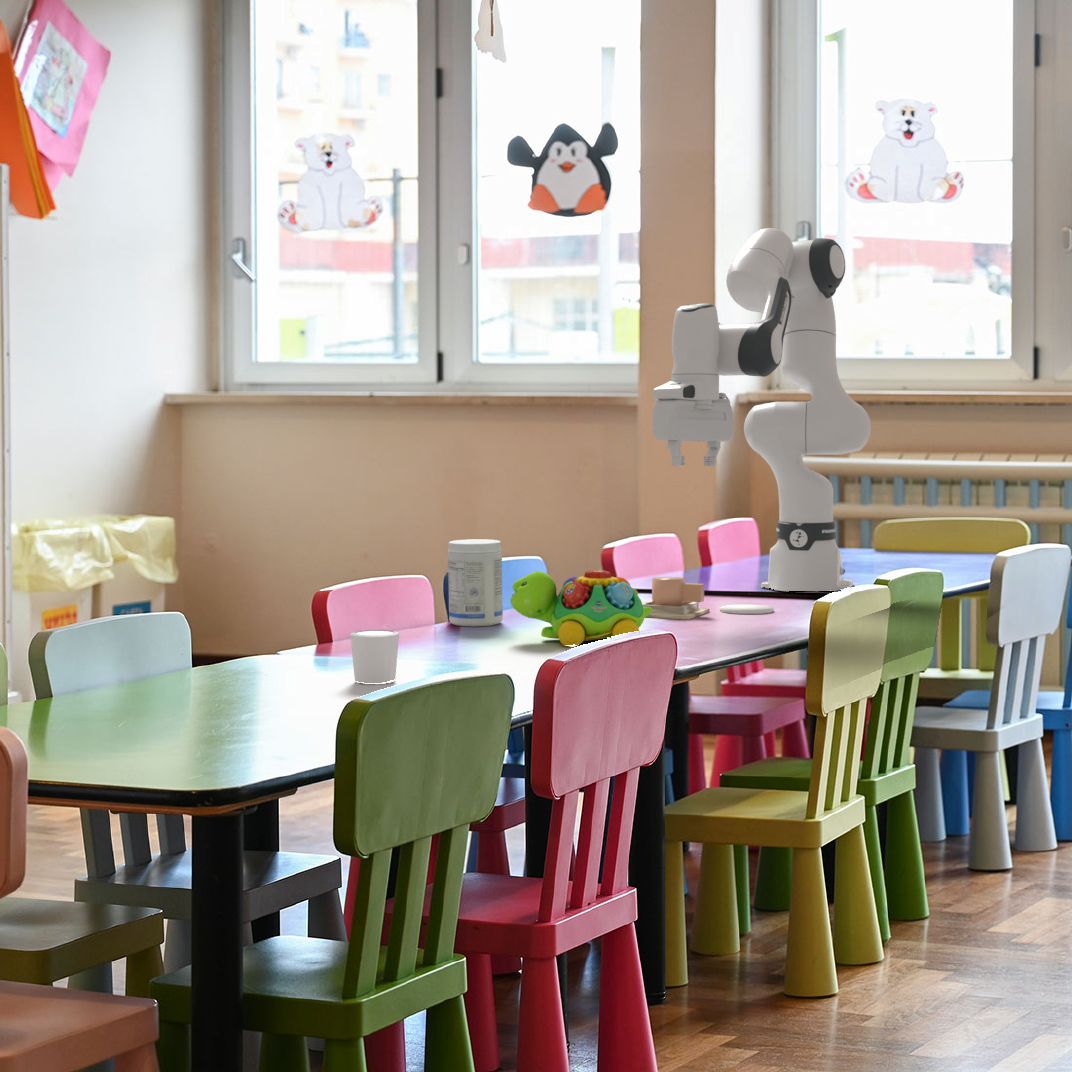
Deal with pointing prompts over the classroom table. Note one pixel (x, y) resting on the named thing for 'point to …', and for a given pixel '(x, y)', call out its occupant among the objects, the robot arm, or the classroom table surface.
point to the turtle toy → (580, 605)
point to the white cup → (374, 655)
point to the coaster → (746, 609)
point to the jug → (675, 591)
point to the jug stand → (676, 610)
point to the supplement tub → (475, 582)
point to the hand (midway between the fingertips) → (694, 466)
